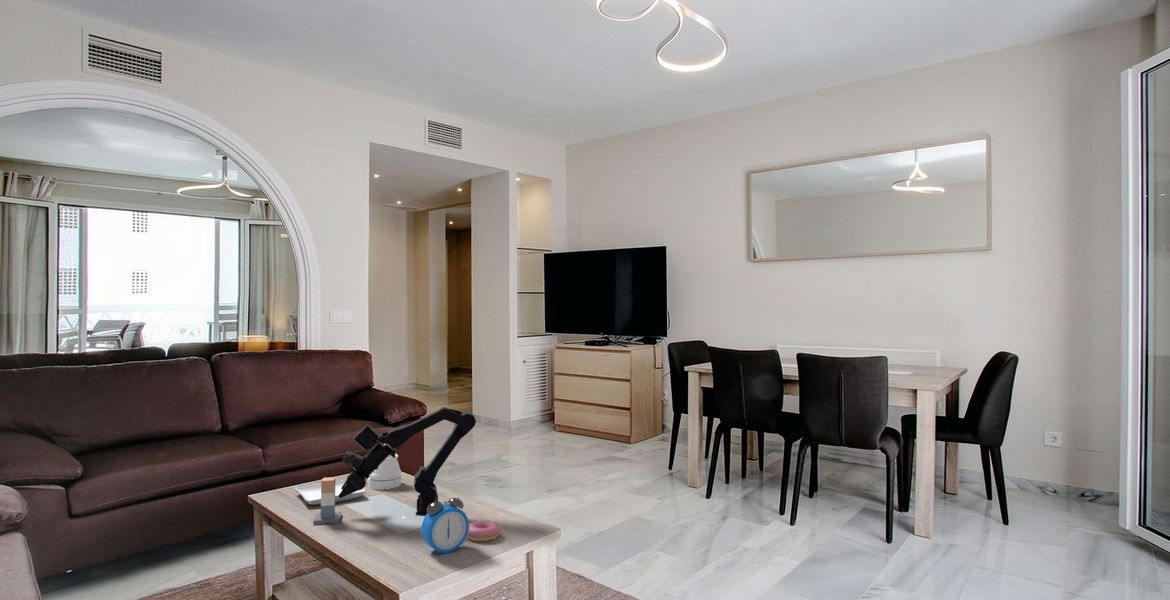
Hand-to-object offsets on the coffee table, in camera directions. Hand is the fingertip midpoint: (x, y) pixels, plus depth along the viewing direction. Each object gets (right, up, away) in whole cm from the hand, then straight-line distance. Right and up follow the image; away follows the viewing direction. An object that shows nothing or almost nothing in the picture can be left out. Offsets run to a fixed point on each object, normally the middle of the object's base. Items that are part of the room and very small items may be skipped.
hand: (340, 493), depth 213 cm
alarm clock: (+41, -9, -26) cm, 50 cm away
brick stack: (-4, -7, -1) cm, 9 cm away
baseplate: (-4, -9, -1) cm, 10 cm away
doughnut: (+51, -10, -14) cm, 54 cm away
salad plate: (-14, -9, +24) cm, 29 cm away
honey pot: (+2, -9, +41) cm, 42 cm away
